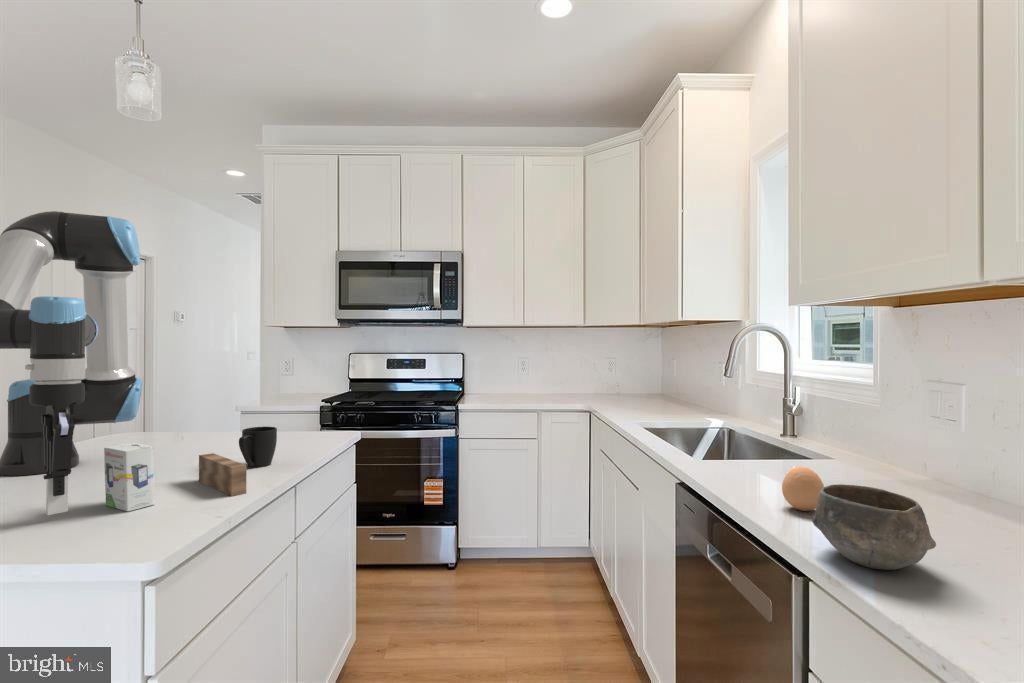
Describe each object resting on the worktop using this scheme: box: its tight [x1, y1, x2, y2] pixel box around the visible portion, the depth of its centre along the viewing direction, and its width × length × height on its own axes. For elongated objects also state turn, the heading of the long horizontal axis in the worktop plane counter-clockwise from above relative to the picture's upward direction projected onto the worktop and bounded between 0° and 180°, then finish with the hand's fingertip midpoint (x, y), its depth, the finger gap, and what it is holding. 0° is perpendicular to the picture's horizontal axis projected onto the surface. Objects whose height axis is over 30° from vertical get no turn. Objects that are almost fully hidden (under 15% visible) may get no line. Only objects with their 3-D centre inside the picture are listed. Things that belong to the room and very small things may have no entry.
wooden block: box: [198, 452, 248, 497], centre depth 114 cm, size 18×3×6 cm, turn 51°
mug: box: [238, 426, 278, 469], centre depth 132 cm, size 8×12×10 cm
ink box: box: [103, 442, 156, 512], centre depth 100 cm, size 9×5×12 cm, turn 62°
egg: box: [781, 465, 825, 512], centre depth 100 cm, size 7×7×8 cm
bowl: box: [811, 483, 937, 571], centre depth 77 cm, size 14×15×10 cm
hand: (57, 512), depth 92 cm, fingers closed
